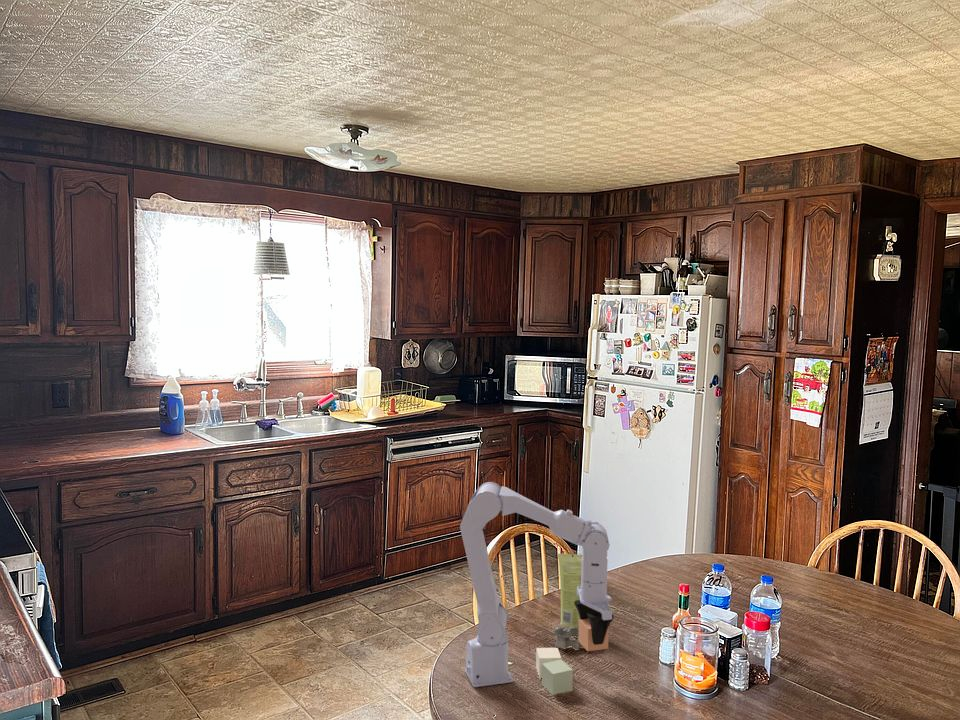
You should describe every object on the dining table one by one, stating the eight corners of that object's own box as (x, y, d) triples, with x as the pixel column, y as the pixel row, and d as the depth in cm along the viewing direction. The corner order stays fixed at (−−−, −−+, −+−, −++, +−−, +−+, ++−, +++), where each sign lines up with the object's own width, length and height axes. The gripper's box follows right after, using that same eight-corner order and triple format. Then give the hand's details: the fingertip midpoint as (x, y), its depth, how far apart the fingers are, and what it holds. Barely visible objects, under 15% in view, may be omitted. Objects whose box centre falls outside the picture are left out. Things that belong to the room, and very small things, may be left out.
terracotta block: (587, 651, 159) (588, 629, 159) (578, 641, 164) (578, 619, 164) (608, 648, 161) (608, 626, 160) (598, 638, 165) (599, 617, 165)
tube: (571, 619, 196) (572, 549, 195) (585, 625, 192) (586, 554, 191) (556, 625, 193) (557, 553, 191) (570, 631, 189) (571, 558, 187)
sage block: (552, 696, 157) (552, 674, 157) (541, 685, 162) (541, 663, 162) (572, 691, 159) (572, 669, 159) (561, 680, 164) (561, 659, 164)
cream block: (539, 679, 164) (539, 658, 164) (536, 668, 169) (536, 648, 169) (561, 679, 165) (561, 657, 164) (557, 668, 170) (557, 647, 169)
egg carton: (554, 651, 178) (554, 635, 178) (553, 637, 186) (553, 622, 186) (598, 652, 178) (598, 636, 177) (595, 638, 185) (595, 623, 185)
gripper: (625, 589, 155) (624, 650, 156) (596, 566, 169) (595, 622, 170) (595, 592, 153) (594, 654, 154) (568, 568, 167) (567, 625, 168)
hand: (592, 638), depth 162 cm, fingers closed on terracotta block, 5 cm apart
